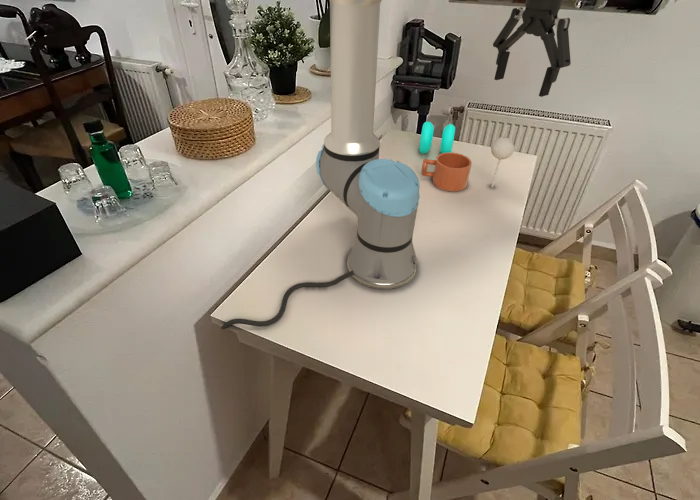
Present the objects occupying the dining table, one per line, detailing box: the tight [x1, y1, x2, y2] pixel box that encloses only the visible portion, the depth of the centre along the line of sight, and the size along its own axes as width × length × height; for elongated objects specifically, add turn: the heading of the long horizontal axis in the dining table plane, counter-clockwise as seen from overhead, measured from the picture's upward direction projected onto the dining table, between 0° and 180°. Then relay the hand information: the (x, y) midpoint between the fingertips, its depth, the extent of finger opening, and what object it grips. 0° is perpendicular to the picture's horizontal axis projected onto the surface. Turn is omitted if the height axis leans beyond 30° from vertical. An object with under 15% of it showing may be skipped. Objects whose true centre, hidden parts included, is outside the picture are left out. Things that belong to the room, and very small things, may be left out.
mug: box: [420, 152, 473, 192], centre depth 122 cm, size 13×10×7 cm
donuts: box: [418, 120, 456, 155], centre depth 135 cm, size 10×10×10 cm
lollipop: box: [490, 136, 516, 188], centre depth 118 cm, size 6×6×15 cm
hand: (520, 87), depth 107 cm, fingers open, 13 cm apart
